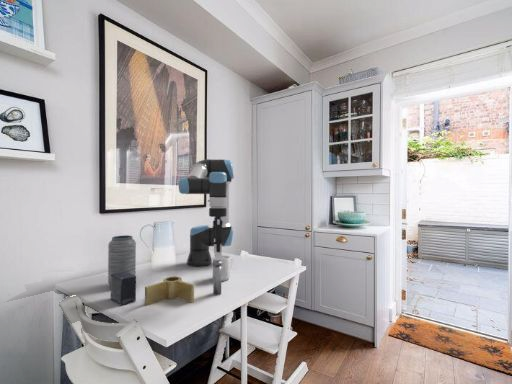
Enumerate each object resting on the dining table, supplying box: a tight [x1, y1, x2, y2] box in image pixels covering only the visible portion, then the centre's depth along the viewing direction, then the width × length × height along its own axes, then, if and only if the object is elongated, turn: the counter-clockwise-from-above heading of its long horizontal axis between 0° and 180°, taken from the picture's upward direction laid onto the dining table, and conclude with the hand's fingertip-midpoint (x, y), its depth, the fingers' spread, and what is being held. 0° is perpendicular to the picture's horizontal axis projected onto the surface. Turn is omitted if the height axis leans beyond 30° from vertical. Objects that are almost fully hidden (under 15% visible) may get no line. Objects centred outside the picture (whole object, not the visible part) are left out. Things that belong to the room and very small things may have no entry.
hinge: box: [144, 275, 195, 306], centre depth 113 cm, size 13×19×7 cm
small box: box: [109, 271, 137, 307], centre depth 110 cm, size 11×6×10 cm, turn 48°
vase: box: [107, 234, 137, 286], centre depth 128 cm, size 12×12×23 cm
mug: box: [212, 255, 234, 282], centre depth 139 cm, size 12×9×11 cm
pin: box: [212, 260, 222, 296], centre depth 118 cm, size 4×4×14 cm
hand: (217, 256), depth 118 cm, fingers open, 13 cm apart
